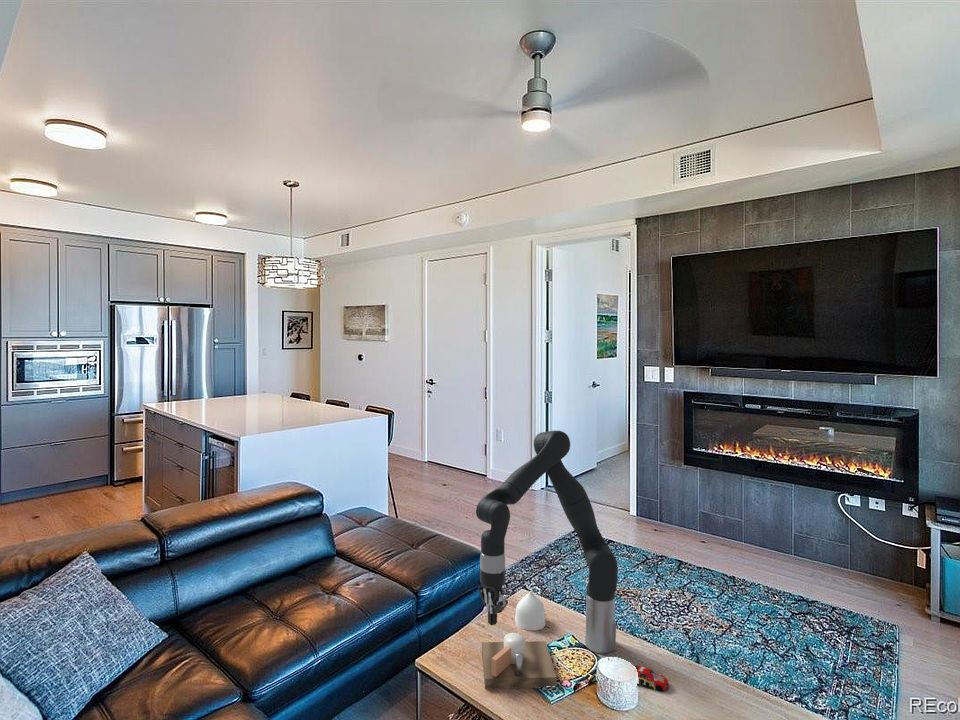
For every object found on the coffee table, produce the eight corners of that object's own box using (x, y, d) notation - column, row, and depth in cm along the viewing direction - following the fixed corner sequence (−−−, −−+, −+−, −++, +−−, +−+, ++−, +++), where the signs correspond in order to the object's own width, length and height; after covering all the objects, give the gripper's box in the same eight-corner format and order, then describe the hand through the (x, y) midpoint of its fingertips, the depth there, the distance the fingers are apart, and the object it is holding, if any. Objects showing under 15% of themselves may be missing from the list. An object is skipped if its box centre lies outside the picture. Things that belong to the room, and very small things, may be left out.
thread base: (545, 650, 168) (546, 623, 167) (556, 687, 150) (557, 657, 150) (481, 651, 167) (482, 624, 166) (485, 688, 149) (485, 658, 148)
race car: (669, 684, 152) (670, 671, 152) (667, 695, 147) (668, 682, 147) (624, 671, 158) (624, 658, 158) (621, 681, 153) (621, 668, 153)
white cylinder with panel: (511, 648, 163) (511, 630, 162) (528, 656, 159) (528, 637, 159) (484, 671, 151) (485, 651, 151) (502, 680, 147) (502, 660, 147)
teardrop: (547, 616, 189) (547, 584, 188) (543, 632, 178) (544, 599, 178) (517, 612, 191) (518, 580, 191) (512, 628, 181) (513, 595, 180)
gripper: (470, 561, 156) (470, 617, 156) (495, 578, 144) (494, 638, 145) (490, 556, 160) (490, 610, 160) (516, 572, 149) (515, 630, 149)
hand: (492, 623), depth 153 cm, fingers closed
